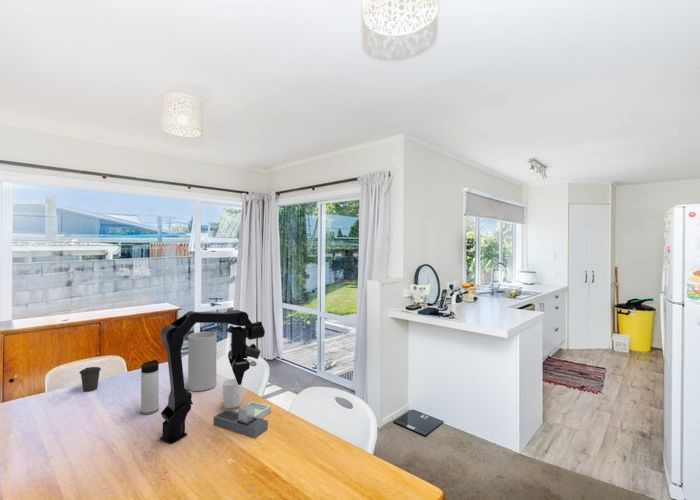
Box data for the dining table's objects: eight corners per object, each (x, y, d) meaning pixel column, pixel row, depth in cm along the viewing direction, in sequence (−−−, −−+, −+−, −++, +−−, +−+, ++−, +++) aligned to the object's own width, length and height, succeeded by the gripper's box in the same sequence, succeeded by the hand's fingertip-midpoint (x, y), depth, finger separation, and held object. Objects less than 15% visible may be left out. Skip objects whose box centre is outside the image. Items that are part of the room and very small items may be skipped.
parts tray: (254, 423, 131) (254, 416, 131) (234, 417, 136) (234, 411, 136) (270, 412, 140) (270, 406, 140) (251, 407, 145) (251, 401, 145)
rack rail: (254, 438, 122) (254, 429, 122) (213, 424, 130) (213, 416, 130) (267, 428, 128) (267, 420, 128) (227, 416, 137) (227, 409, 137)
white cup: (238, 409, 143) (238, 385, 143) (219, 409, 143) (219, 385, 143) (244, 400, 151) (244, 378, 151) (226, 400, 151) (226, 378, 151)
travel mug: (162, 407, 144) (162, 360, 144) (152, 415, 138) (152, 365, 137) (148, 406, 145) (148, 359, 144) (137, 414, 138) (137, 364, 138)
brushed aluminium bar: (246, 432, 125) (247, 410, 125) (238, 430, 127) (238, 408, 127) (254, 427, 129) (254, 406, 129) (246, 424, 131) (246, 404, 130)
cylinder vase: (192, 382, 171) (192, 332, 171) (218, 380, 173) (218, 331, 173) (184, 392, 159) (184, 338, 158) (213, 390, 161) (213, 337, 161)
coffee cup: (83, 387, 164) (83, 366, 164) (103, 385, 167) (103, 364, 167) (76, 394, 156) (76, 372, 156) (96, 391, 159) (96, 370, 159)
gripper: (263, 345, 134) (262, 385, 134) (255, 334, 151) (254, 370, 151) (233, 348, 129) (232, 390, 129) (228, 337, 146) (227, 373, 146)
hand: (238, 380), depth 139 cm, fingers open, 9 cm apart
